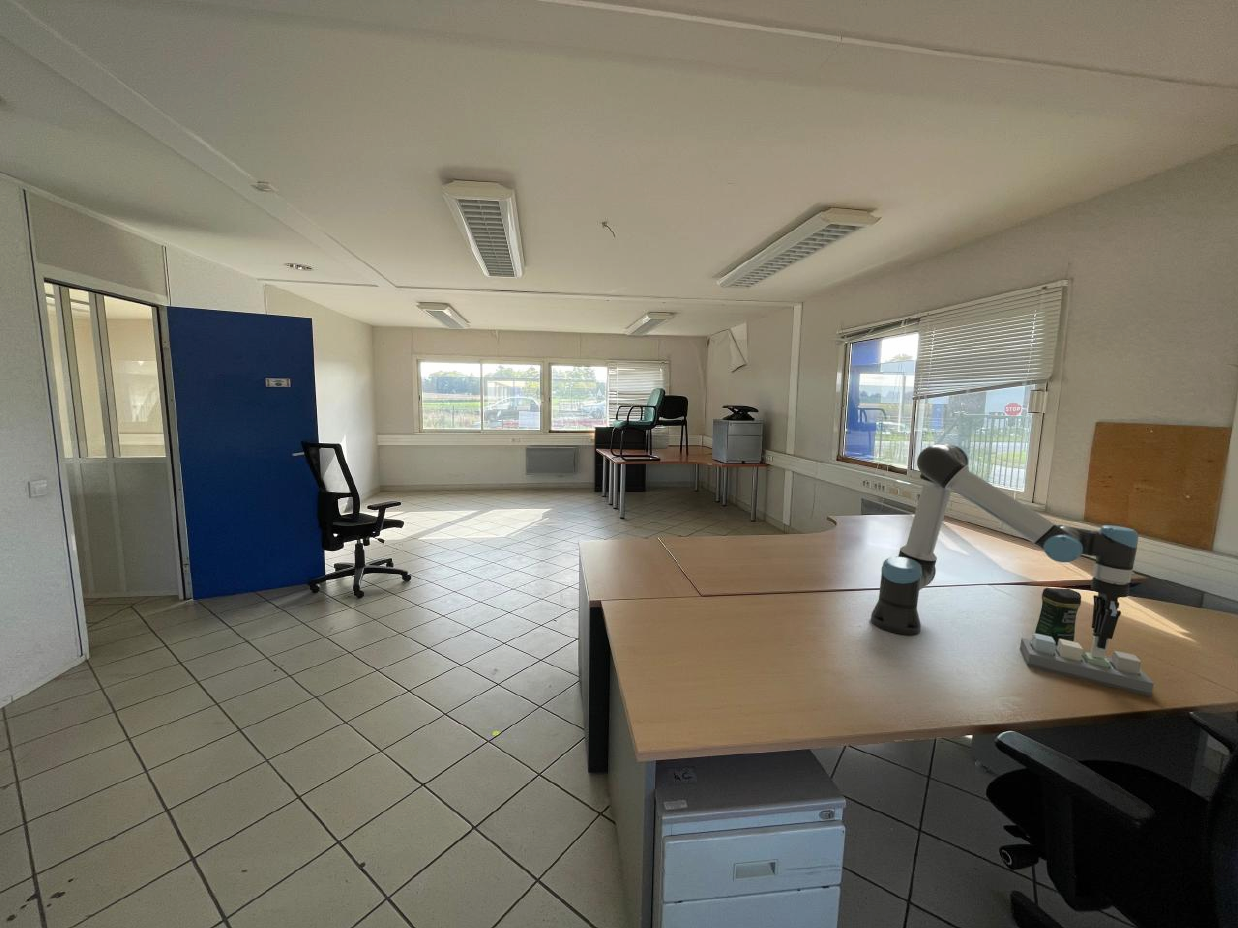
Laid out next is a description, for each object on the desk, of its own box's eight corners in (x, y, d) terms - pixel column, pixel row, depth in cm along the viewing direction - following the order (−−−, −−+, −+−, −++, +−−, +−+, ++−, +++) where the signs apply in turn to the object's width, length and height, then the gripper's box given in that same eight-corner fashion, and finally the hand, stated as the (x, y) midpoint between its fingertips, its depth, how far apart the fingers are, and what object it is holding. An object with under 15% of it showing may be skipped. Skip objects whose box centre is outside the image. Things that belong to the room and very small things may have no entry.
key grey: (1116, 670, 134) (1119, 657, 133) (1111, 663, 138) (1113, 650, 137) (1138, 675, 132) (1141, 661, 131) (1132, 667, 135) (1134, 655, 135)
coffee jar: (1051, 647, 154) (1060, 593, 151) (1029, 635, 161) (1037, 584, 159) (1079, 647, 154) (1088, 594, 152) (1055, 635, 162) (1064, 584, 159)
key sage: (1086, 670, 137) (1089, 658, 137) (1082, 664, 141) (1084, 651, 141) (1107, 675, 135) (1109, 662, 135) (1102, 668, 139) (1104, 656, 138)
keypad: (1027, 666, 142) (1029, 653, 141) (1019, 649, 152) (1021, 637, 151) (1151, 696, 128) (1153, 683, 127) (1133, 675, 138) (1135, 663, 138)
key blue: (1034, 650, 143) (1036, 638, 143) (1031, 644, 147) (1033, 632, 146) (1053, 655, 141) (1055, 642, 140) (1049, 648, 145) (1051, 636, 144)
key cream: (1060, 656, 140) (1062, 644, 140) (1056, 650, 144) (1058, 638, 143) (1080, 661, 138) (1082, 648, 137) (1076, 655, 142) (1078, 642, 141)
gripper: (1138, 590, 127) (1123, 671, 130) (1120, 576, 138) (1107, 650, 141) (1100, 583, 131) (1086, 662, 134) (1086, 570, 142) (1073, 643, 145)
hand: (1097, 656), depth 137 cm, fingers closed
